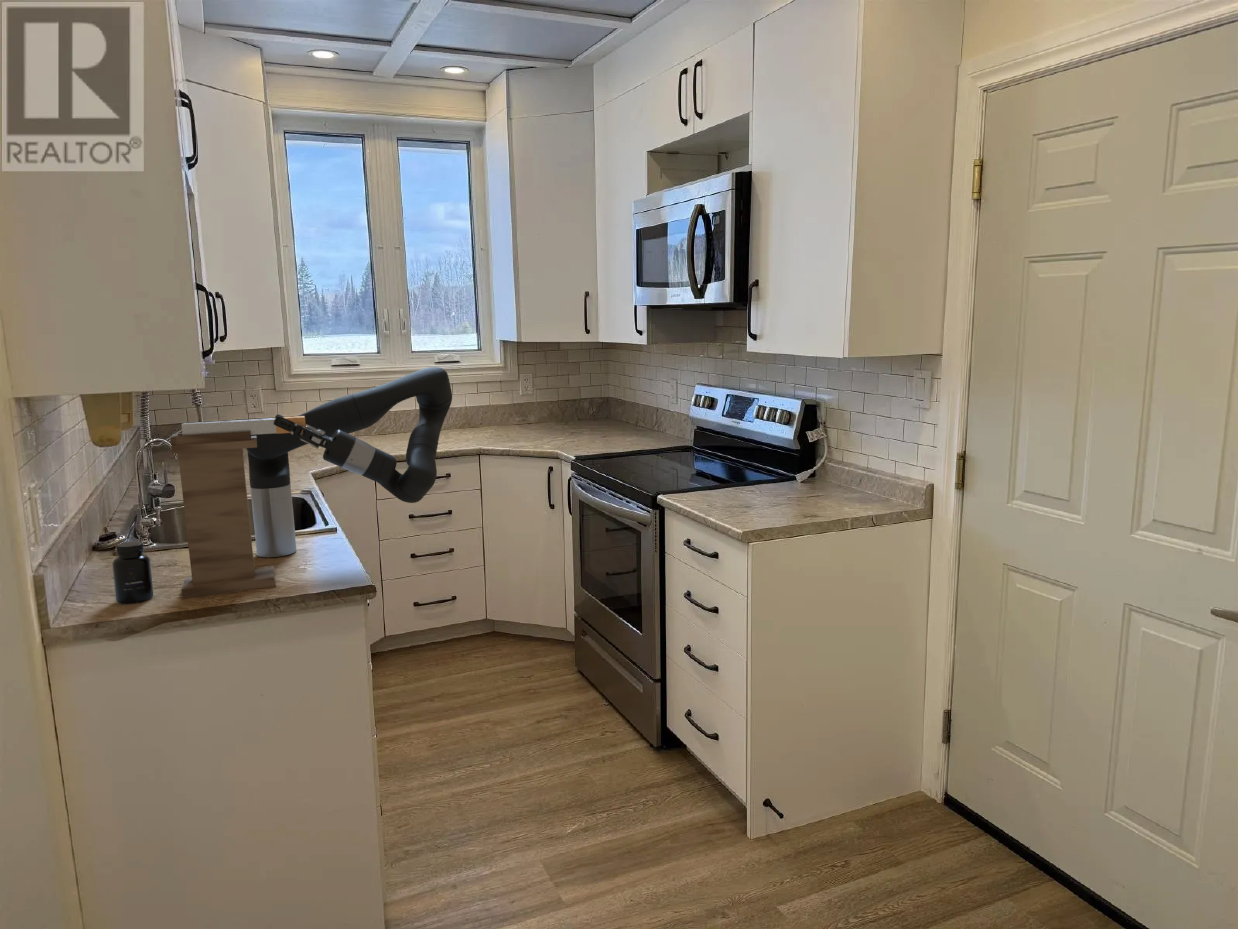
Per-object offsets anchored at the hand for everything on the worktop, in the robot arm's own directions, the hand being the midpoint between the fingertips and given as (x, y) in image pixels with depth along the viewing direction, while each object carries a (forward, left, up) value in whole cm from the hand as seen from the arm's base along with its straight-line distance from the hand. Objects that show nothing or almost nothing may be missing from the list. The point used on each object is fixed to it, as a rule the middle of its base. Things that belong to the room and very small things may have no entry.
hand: (275, 418), depth 180 cm
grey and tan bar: (0, -6, -3) cm, 7 cm away
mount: (0, -12, -36) cm, 38 cm away
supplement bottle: (+1, -30, -36) cm, 47 cm away
